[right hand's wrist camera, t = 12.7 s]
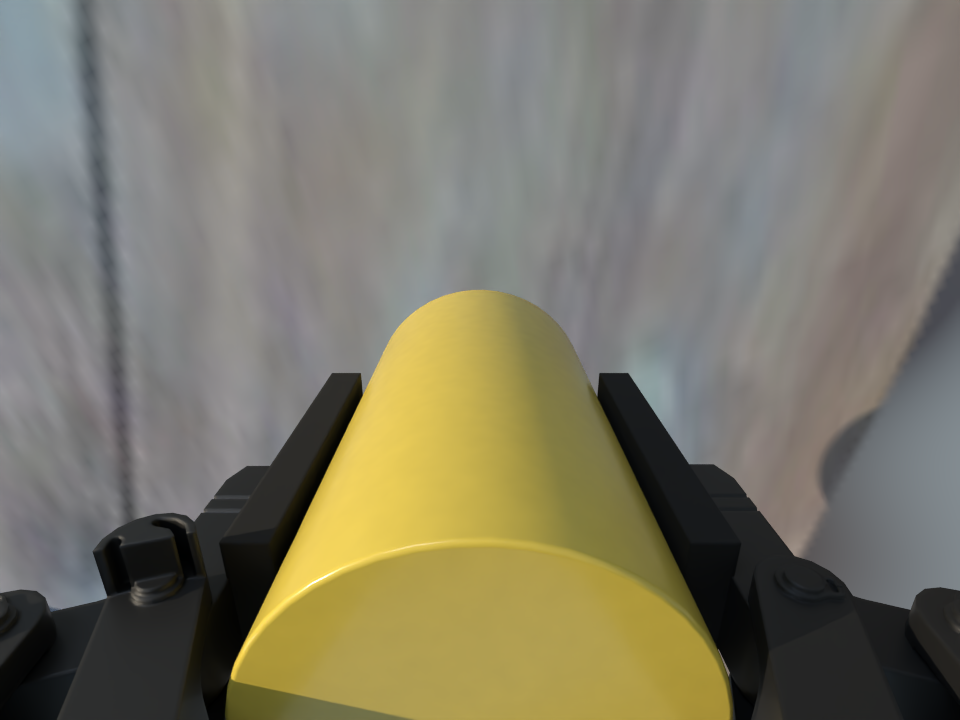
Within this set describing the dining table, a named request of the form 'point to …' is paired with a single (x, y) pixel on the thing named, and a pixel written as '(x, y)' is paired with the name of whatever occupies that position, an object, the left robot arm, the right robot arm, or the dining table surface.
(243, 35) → the dining table surface
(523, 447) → the can
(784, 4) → the dining table surface
